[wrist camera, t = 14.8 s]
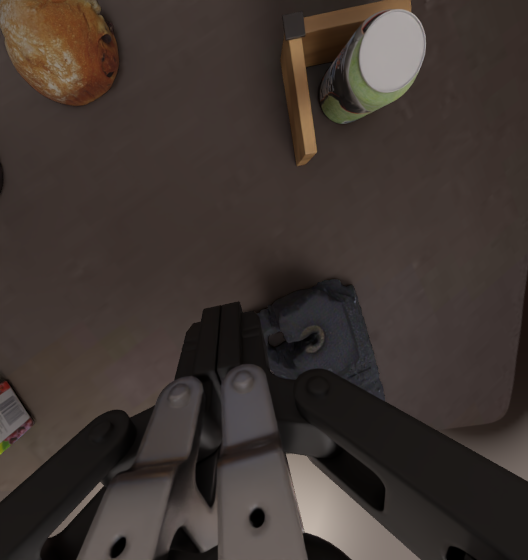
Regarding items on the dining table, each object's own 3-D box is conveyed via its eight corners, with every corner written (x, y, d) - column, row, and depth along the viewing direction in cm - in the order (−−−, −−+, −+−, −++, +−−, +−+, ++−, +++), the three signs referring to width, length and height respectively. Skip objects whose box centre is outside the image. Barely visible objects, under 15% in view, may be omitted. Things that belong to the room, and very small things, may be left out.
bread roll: (53, 31, 31) (-42, -14, 24) (109, -20, 27) (12, -95, 20) (84, 123, 33) (6, 105, 26) (140, 90, 29) (63, 58, 22)
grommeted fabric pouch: (294, 434, 41) (299, 462, 36) (242, 309, 36) (239, 322, 31) (389, 402, 40) (406, 427, 35) (349, 270, 35) (363, 278, 30)
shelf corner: (388, 147, 32) (419, 130, 26) (294, 166, 32) (302, 154, 26) (379, 35, 29) (412, -13, 23) (276, 57, 29) (282, 15, 23)
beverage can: (365, 61, 30) (436, -41, 18) (373, 131, 31) (443, 81, 20) (310, 74, 30) (345, -18, 18) (321, 144, 31) (360, 101, 20)
